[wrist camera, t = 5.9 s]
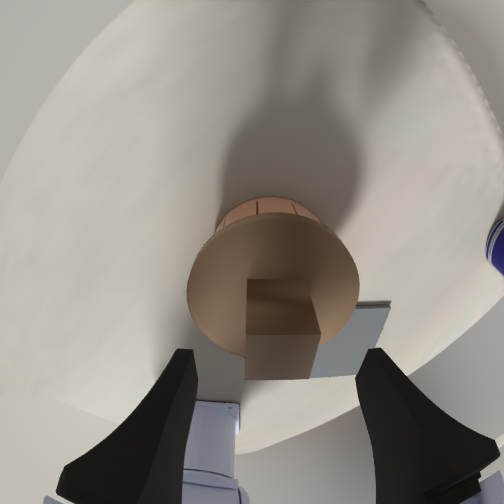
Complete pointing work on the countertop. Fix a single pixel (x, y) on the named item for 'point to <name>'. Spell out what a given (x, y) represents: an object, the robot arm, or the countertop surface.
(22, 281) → the countertop surface
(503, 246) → the energy drink
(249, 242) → the lid
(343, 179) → the countertop surface
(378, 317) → the mat
